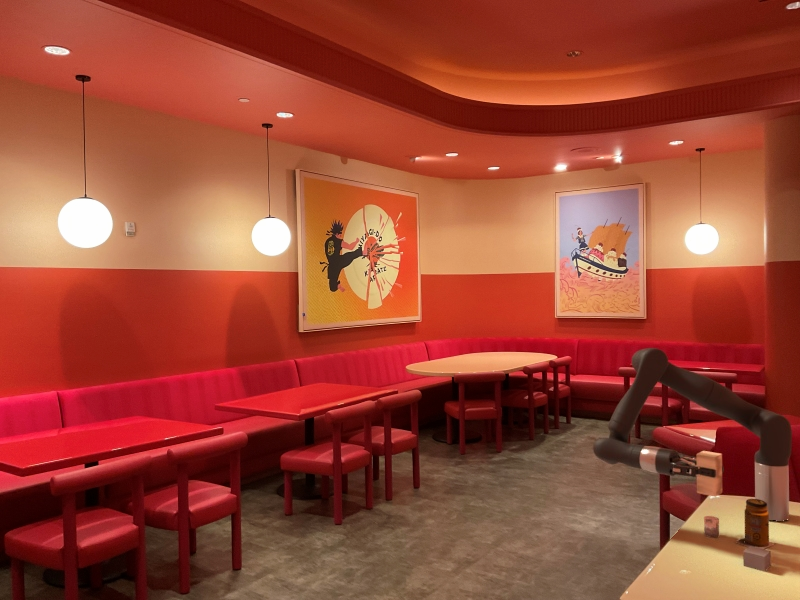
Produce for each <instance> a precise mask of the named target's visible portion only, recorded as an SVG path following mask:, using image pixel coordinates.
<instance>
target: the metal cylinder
mask: <svg viewBox="0 0 800 600" xmlns="http://www.w3.org/2000/svg"><path fill="white" fill-rule="evenodd" d="M703 531H704V532H703V535H704V536H705V537H708V538H712V539H713V538H714V539H717V538H719V537H720V518H719V517H716V516H713V515H706V516H704V517H703Z"/></svg>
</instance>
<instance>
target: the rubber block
mask: <svg viewBox="0 0 800 600" xmlns="http://www.w3.org/2000/svg"><path fill="white" fill-rule="evenodd" d="M742 553H743V555H742V557H743V567H746V568H750V569H753V570H756V571H760V572H764V573H765V572H766V571H767V570H768V569H769V568H770V567H771V566H772V565H771V564H772V563H771V560H772V559H771V550H768V549H766V548H765V549H761V548H757V547H753V546H749V547H746V548H745V549H744V550H743V551H742Z"/></svg>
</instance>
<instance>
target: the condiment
mask: <svg viewBox="0 0 800 600" xmlns="http://www.w3.org/2000/svg"><path fill="white" fill-rule="evenodd" d="M745 504H746V505H745V509H744V537H743V538H740V539H737V540H735V541H734V543H736V544H738V545H741V546H744V547H746V548H748V547H749V546H753V547H757V548H761V549H765V550H766V548H770V547H772V546H774V545H776V542H771V541H770V526H769V525H770V524H769V523H770V521H769V513H768V511H767V503H766V502H765V501H763V500H759V499H755V498H748V499H746V501H745Z"/></svg>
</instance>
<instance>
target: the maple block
mask: <svg viewBox="0 0 800 600" xmlns="http://www.w3.org/2000/svg"><path fill="white" fill-rule="evenodd" d="M696 457H697V466H700V467H705V468H710V469H715V470H716V477H714V478H713V477H708V476H702V475H701V476H697V475H696V493H697V494H701V495H704V496H710V497H715V498H716V497H717V496H720V495H721V494H722V493H723V473H722V465H723V453H719V452H712V451H709V450H708V451H706V450H702V451H700V452H698V453H696Z"/></svg>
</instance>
